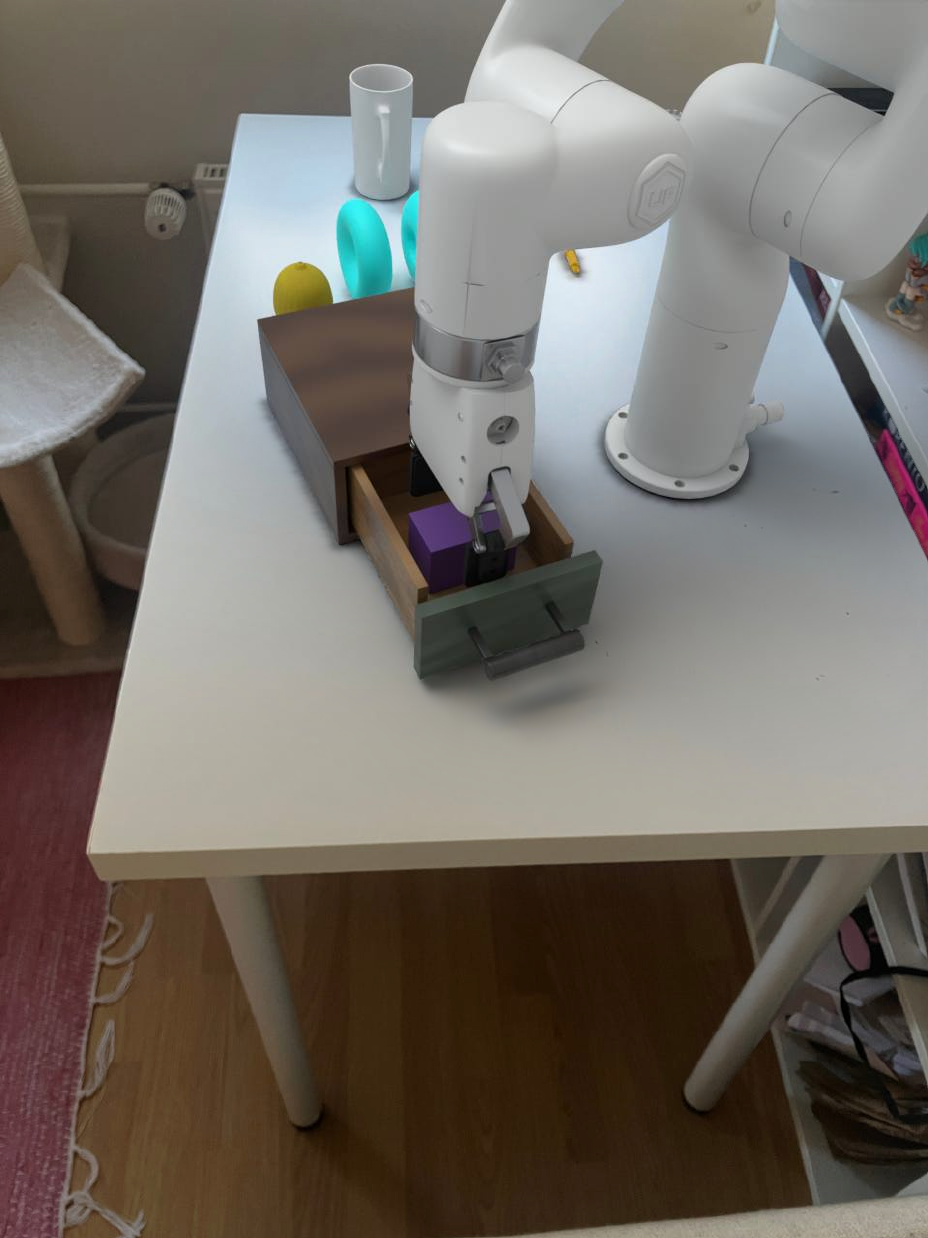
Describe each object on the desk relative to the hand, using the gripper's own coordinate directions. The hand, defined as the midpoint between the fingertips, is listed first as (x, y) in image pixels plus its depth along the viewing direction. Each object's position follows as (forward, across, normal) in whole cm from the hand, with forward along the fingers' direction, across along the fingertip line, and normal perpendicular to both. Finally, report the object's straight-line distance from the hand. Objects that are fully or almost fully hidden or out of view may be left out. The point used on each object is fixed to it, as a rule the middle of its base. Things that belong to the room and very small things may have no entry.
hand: (455, 533), depth 73 cm
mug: (+5, +57, -17) cm, 60 cm away
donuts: (+5, +38, -11) cm, 40 cm away
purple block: (+4, 0, -1) cm, 4 cm away
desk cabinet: (+6, +17, -1) cm, 18 cm away
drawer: (+5, -1, -1) cm, 5 cm away
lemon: (+6, +34, 0) cm, 35 cm away
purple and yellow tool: (+5, +42, -33) cm, 54 cm away
